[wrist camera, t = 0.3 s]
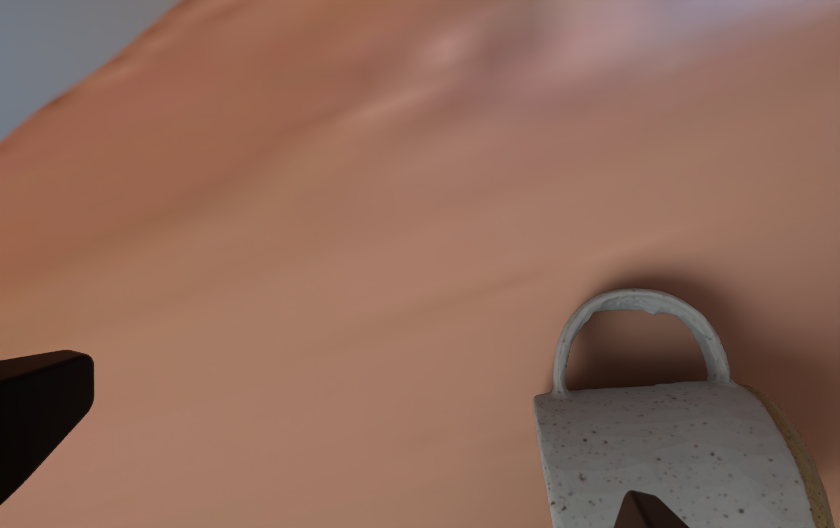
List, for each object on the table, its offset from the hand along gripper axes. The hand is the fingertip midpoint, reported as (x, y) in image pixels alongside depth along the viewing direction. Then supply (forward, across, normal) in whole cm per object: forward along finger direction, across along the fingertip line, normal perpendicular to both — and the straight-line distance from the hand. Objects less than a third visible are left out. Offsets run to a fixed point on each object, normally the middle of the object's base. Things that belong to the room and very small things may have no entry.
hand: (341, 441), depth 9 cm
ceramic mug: (+14, -9, +5) cm, 17 cm away
